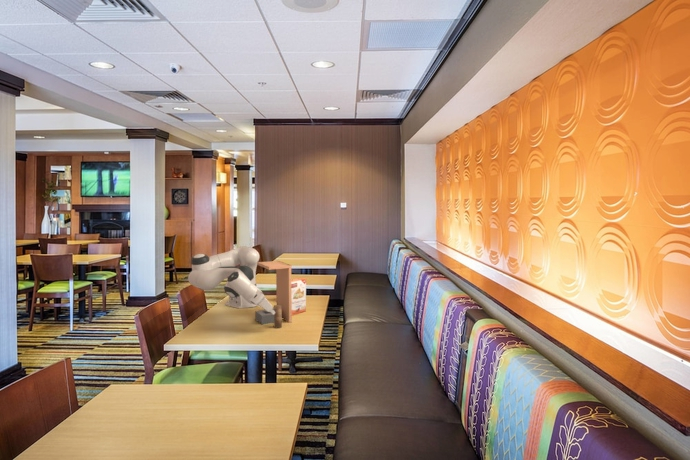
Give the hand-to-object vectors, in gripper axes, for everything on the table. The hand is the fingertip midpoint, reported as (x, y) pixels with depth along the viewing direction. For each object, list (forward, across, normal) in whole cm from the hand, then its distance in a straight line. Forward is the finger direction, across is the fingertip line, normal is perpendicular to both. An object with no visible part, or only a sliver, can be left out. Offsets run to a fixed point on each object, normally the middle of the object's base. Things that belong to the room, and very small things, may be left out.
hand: (271, 311), depth 227 cm
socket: (+10, -16, -4) cm, 19 cm away
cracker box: (+24, -23, +10) cm, 35 cm away
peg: (+10, 0, -4) cm, 10 cm away
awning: (+12, -16, -1) cm, 20 cm away
